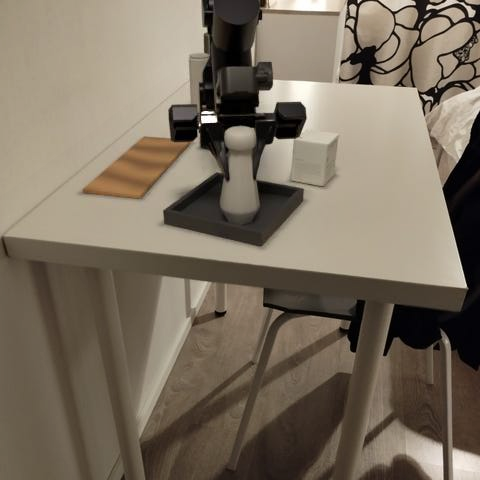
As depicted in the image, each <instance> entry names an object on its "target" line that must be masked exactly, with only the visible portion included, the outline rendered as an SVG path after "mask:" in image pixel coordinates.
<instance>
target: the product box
mask: <svg viewBox="0 0 480 480" xmlns="http://www.w3.org/2000/svg"><path fill="white" fill-rule="evenodd" d="M339 136H340V134H339V133H338V132H331V131H324V130H323V131H322V130H316V129H315V130H314V129H305V130H303V131H302V132H301V134H300V137H298V138H296V139H293V144H292V146H293V148H292V160H291V173H290V181H292V182H297V183H301V184H308V185H312V186H318V187H324V186H326V184H327V183H328V182H329V181H330V180H331V179H332V178H333V177H334V176H335V170H336V161H337V152H338V144H339Z"/></svg>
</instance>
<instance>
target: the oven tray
mask: <svg viewBox="0 0 480 480" xmlns="http://www.w3.org/2000/svg"><path fill="white" fill-rule="evenodd" d="M223 180H224V175H223V173H222V172H217V171H216V172H215V173H213V174H212V175H210V176H209V177H208V178H206V179H205V180H203V181H202V182H201V183H199V184H198V185H197V186H195V187H194V188H192V189H191V190H190V191H188V192H187V193H185V194H184V195H183V196H181V197H180V198H178V199H177V200H176V201H174V202H173V203H172V204H170V205H168V206H167V207H166V208H165V209H163V210H162V213H163V215H162V216H163V224H164V225H168V226H171V227H172V226H173V227H177V228H180V229H185V230H190V231H193V232H199V233H203V234H207V235H211V236H215V237H219V238H223V239H228V240H232V241H237V242H241V243H246V244H248V245H253V246H258V247H262V246H263V245H264V244H265V243H266V242H267V241H268V240H269V239H270V238H271V236H273V235H274V234H275V232H276V231H277V230H278V229H279V228H280V227H281V226H282V224H283V223H284V222H286V220H287V219H288V218H289V217H290V216H291V215H292V214H293V213H294V212H295V210H297V208H298V207H299V206H300V205H301V204H302V203H303V202H304V196H305V195H304V193H305V188H302V187H297V186H292V185H286V184H281V183H275V182H271V181H266V180H260V179H256V182H257V189H258V196H259V202H260V207H259V209H258V211H257V213H256V215H255V216H254V218H253V220H252V222H251V223H247V224H243V225H238V224H233V223H229V222H228V220H227V218H226V217H225V215H224V213H223V211H222V210H221V207H220V197H221V192H222V186H223Z"/></svg>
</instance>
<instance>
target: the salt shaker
mask: <svg viewBox="0 0 480 480" xmlns="http://www.w3.org/2000/svg"><path fill="white" fill-rule="evenodd" d="M224 140H225V146H226V147H227V148H229V150H228V152H227V159H228V164H229V174H230V180H229V181H226V180H225V177H224V180H223V186H222V192H221V197H220V207H221V210H222V211H223V213H224V215H225V217H226V218H227V220H228V222H229V223H233V224H238V225H243V224H247V223H251V222H252V220H253V218H254V216H255V215H256V213H257V211H258V209H259V207H260V202H259V196H258V189H257V182H256V180H257V179H256V180H255V181H254V180H253V154H252V148H253V147H255V145H256V133H255V131H254V128H250V127H246V126H235V127H231V128H229V129H227V130H226V131H225V135H224Z"/></svg>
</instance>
